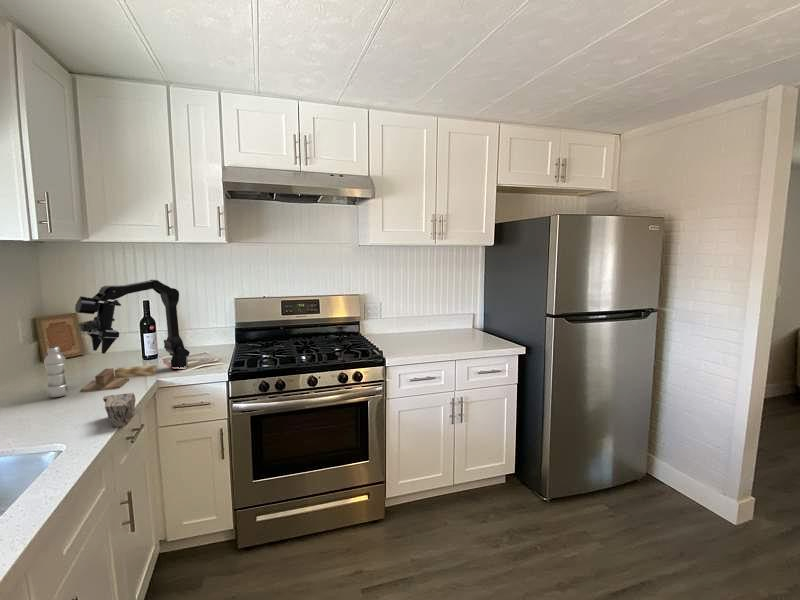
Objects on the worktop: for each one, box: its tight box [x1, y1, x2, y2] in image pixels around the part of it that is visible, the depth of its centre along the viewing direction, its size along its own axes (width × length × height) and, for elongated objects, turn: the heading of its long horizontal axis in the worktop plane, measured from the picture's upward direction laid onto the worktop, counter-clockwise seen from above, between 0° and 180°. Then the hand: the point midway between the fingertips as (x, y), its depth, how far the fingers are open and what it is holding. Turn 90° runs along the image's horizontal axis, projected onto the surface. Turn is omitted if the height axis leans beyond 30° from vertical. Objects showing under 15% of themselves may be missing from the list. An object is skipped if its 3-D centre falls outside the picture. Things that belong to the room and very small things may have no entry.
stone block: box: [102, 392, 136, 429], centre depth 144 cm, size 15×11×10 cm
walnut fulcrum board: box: [79, 367, 130, 392], centre depth 180 cm, size 14×12×6 cm
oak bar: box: [114, 364, 158, 379], centre depth 194 cm, size 16×4×4 cm, turn 106°
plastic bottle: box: [43, 345, 69, 398], centre depth 166 cm, size 6×7×20 cm
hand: (98, 352), depth 177 cm, fingers open, 9 cm apart
